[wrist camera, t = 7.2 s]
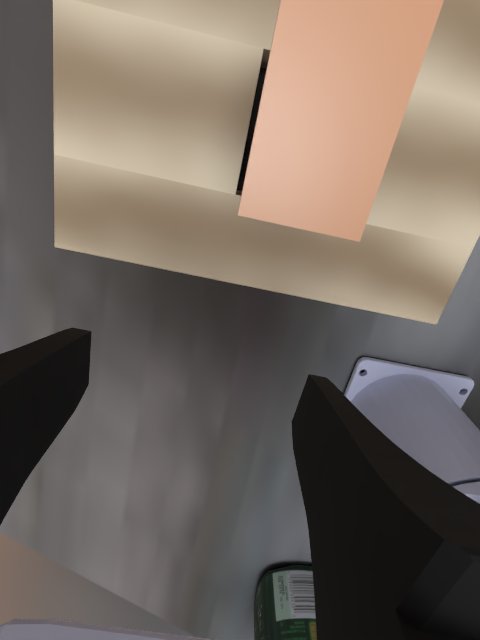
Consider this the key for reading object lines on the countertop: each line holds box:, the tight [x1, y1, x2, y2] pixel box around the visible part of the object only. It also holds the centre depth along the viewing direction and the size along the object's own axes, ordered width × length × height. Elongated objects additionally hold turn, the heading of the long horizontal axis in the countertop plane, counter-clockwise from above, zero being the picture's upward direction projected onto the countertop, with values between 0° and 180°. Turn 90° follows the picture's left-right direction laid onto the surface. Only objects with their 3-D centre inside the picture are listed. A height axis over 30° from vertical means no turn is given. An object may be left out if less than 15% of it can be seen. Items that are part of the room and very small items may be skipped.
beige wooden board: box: [53, 0, 480, 324], centre depth 17 cm, size 14×20×3 cm
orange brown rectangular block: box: [238, 0, 444, 242], centre depth 11 cm, size 5×3×7 cm, turn 168°
